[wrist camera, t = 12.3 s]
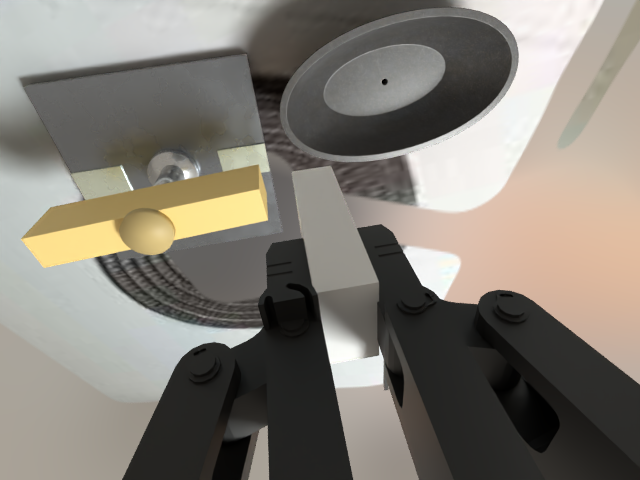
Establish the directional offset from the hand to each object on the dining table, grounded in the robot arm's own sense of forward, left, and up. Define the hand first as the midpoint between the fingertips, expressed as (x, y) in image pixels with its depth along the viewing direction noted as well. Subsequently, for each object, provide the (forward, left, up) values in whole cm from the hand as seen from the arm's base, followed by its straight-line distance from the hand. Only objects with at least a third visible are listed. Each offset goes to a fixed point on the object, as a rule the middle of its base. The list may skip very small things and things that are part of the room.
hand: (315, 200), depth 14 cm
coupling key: (+8, -13, -19) cm, 24 cm away
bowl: (+2, +10, -27) cm, 29 cm away
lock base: (+8, -13, -26) cm, 30 cm away
